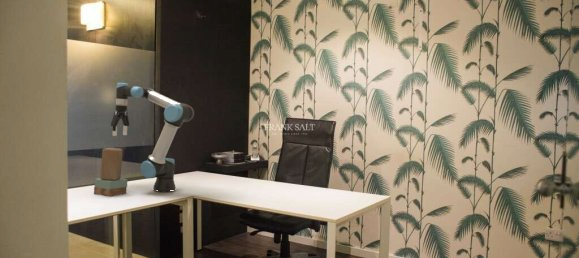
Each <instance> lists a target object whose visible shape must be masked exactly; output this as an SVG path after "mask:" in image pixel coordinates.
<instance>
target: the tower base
mask: <svg viewBox="0 0 579 258" xmlns="http://www.w3.org/2000/svg"><path fill="white" fill-rule="evenodd" d="M93 188H94V189H93V195H97V196H106V197H117V196H119V195H120V194H121V195H124V194H127V188H128V186H127V187H123V188H117V189H110V190H109V189H104V188H99V187H93ZM123 193H124V194H123Z"/></svg>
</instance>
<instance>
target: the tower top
mask: <svg viewBox="0 0 579 258" xmlns="http://www.w3.org/2000/svg"><path fill="white" fill-rule="evenodd" d="M94 187H99V188H104V189H109V190H110V189H117V188H123V187H127V188H128V178H120V179H117V180H115V181H114V180H102V179H101V177H100V178H99V177H98V178H94ZM94 187H93V188H94Z"/></svg>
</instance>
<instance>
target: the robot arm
mask: <svg viewBox="0 0 579 258" xmlns="http://www.w3.org/2000/svg"><path fill="white" fill-rule="evenodd" d="M115 90H116V92H115V93H116V94H115V111H114V112H113V115H112V120H111V123H110V125H111V127H112V136H113V137H117V135H118V124H119V121H120V120H121V121H122V123H123V126H122V127H123V128H122V135H123V136H128V127H130V122H129V121H130V120H129V115H128V112H127V111H128V100H129V99H128V98H135V99H136V98H137V99H146V100H147V101H150V102H152V103H154V104H156V105H158V106H160V107H161V108H164V112H163V115H164V116H163V117H164V120H163V121H164V126H163V128H162V130H161V133H160V135H159V138H158V140H157V143H156V144H155V146H154V148H153V151H152V154H149V155H148V157H147V159H146V160H144V161H142V163H141V165H140V172H141V175H142V176H143V177H145V178H147V179H153V178H156V179H155V182H154V185H153V187H152V188H153V189H154V190H158V191H170V190H175V189H176V188H177V187H176V184H175V180H174V177H175V165H176V164H175V159H174V158H169V157H166V156H167V154H168V152H169V149H170V147H171V145H172V142H173V141H174V138H175V135H176V133H177V131H178V129H180V128H181V127H182V126H183V123H185V122H186V123H188V122H189V121H191V120H192V119H193V118H194V116H195V111H194V108H193V107H192V106H190V105H189V104H186V103H184V102H178V101H176V100H174V99H172V98H170V97H167V96H165V95H163V94H161V93H159V92H157V91H155V90H154V89H153V88H150V87H142V86H141V87H140V86H136V85H135V86H133V85H132V86H130V85H129V84H128V83H126V82H117V84H116V89H115ZM154 190H153V191H154ZM175 191H176V190H175Z"/></svg>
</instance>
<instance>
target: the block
mask: <svg viewBox="0 0 579 258" xmlns="http://www.w3.org/2000/svg"><path fill="white" fill-rule="evenodd" d="M101 152H102V153H101V166H100V167H101V168H100V178H101V179H102V180H114V181H115V180H117V179H120V178H121V177H122V176H121V175H122V166H123V165H122V163H123V162H122V161H123V149H122V148H116V147H105V148H102V151H101Z"/></svg>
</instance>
